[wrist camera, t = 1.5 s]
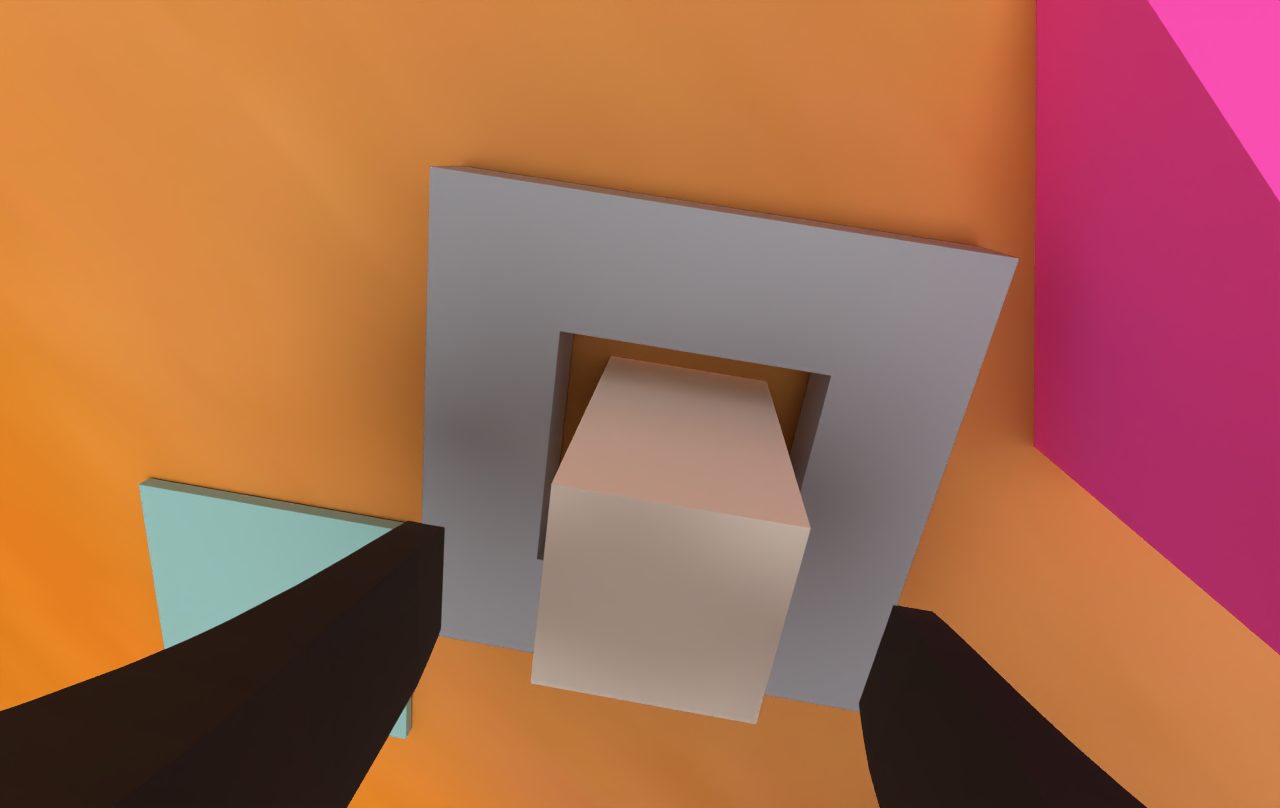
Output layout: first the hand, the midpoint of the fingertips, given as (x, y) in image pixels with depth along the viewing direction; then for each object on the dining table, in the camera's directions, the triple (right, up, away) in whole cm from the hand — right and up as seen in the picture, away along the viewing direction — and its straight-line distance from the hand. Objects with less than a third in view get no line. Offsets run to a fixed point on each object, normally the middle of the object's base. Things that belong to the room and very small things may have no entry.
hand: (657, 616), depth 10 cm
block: (+1, +2, +7) cm, 7 cm away
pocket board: (+1, +2, +7) cm, 7 cm away
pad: (-11, -3, +10) cm, 15 cm away
